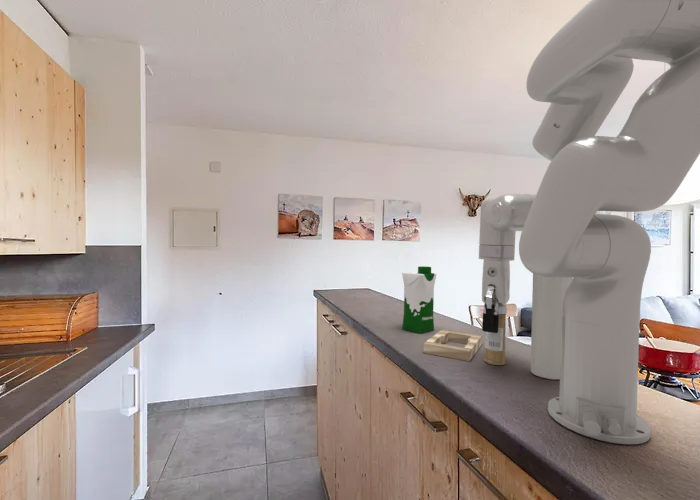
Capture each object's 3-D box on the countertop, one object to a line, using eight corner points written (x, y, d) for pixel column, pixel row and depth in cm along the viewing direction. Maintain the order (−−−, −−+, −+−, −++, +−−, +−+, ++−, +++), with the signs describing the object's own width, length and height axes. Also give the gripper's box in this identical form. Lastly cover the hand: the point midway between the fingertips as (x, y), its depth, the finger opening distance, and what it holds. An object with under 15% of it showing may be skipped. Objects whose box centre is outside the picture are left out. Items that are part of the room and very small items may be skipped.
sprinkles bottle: (508, 362, 77) (510, 304, 77) (500, 367, 74) (501, 306, 74) (489, 357, 81) (490, 301, 81) (480, 362, 78) (481, 303, 77)
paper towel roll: (529, 376, 69) (532, 272, 69) (531, 367, 75) (533, 270, 74) (571, 384, 66) (574, 274, 65) (570, 374, 71) (572, 272, 71)
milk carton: (420, 335, 100) (421, 267, 100) (397, 328, 107) (398, 266, 107) (438, 330, 106) (439, 266, 106) (415, 324, 113) (416, 265, 113)
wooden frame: (469, 361, 78) (469, 351, 78) (423, 352, 84) (423, 343, 84) (481, 344, 92) (482, 335, 92) (441, 338, 97) (441, 329, 97)
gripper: (510, 255, 68) (506, 339, 69) (517, 252, 83) (514, 321, 84) (471, 253, 72) (468, 333, 73) (485, 251, 87) (482, 317, 88)
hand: (493, 326), depth 78 cm, fingers open, 9 cm apart
